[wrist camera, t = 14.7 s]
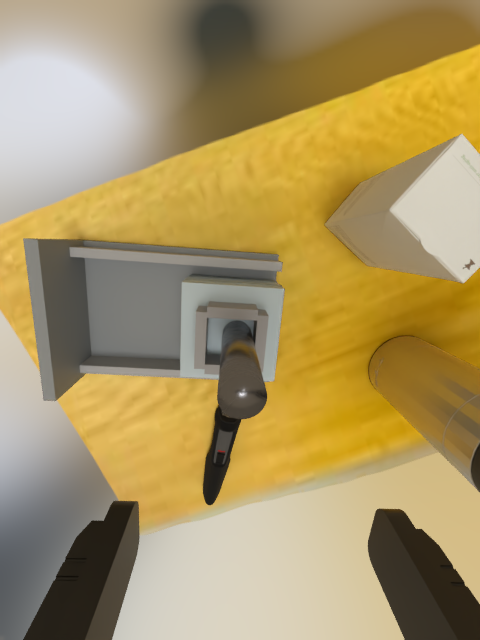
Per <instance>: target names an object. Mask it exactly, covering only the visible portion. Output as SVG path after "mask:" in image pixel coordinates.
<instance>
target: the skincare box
mask: <svg viewBox="0 0 480 640" xmlns="http://www.w3.org/2000/svg"><path fill="white" fill-rule="evenodd" d="M325 226H326V227H327V228H328V229H329V230H330V231H331V232H332V233H333V234H334V235H335V236H336V237H337V238H338V239H339V240H340V241H341V242H343V243H344V244H345V245H346V246H347V247H348V248H349V249H350V250H351V251H352V252H353V253H354V254H355V255H356V256H357V257H358V258H359V259H360V260H361V261H363V262H364V263H365V264H366V265H367V266H371V267H377V268H383V269H389V270H395V271H401V272H406V273H412V274H417V275H423V276H429V277H435V278H440V279H446V280H451V281H456V282H460V283H465V282H466V281H467V279H468V278H469V277H470V276H471V275H472V274H473V273H474V272H475V271H476V270H477V269H478V268H479V267H480V154H479V153H478V152H477V151H476V150H475V148H474V147H473V146H472V145H471V144H470V142H469V141H468V140H467V139H466V138H465V137H464V136H463V134H460V135H459V136H457V137H454V138H452V139H450V140H448V141H446V142H444V143H442V144H440V145H438V146H436V147H434V148H432V149H430V150H428V151H426V152H423V153H421V154H419V155H417V156H415V157H413V158H411V159H409V160H407V161H405V162H403V163H401V164H398V165H396V166H394V167H392V168H390V169H388V170H386V171H384V172H382V173H380V174H378V175H376V176H374V177H372V178H370V179H367V180H366V181H363V182H361V183H360V184H359V185H358V186H357V187H356V188H355V189H354V190H353V191H352V193H351V194H350V195H349V196H348V197H347V198H346V200H345V201H344V202H343V203H342V204H341V205H340V207H339V208H338V209H337V210H336V211H335V212H334V214H333V215H332V216H331V217H330V218H329V219H328V221H327V222H326V223H325Z"/></svg>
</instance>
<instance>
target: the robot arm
mask: <svg viewBox="0 0 480 640" xmlns="http://www.w3.org/2000/svg"><path fill="white" fill-rule="evenodd" d="M369 378H370V381H371V383H372V385H373V386H374V387H375V389H376V390H377V391H378V392H379V393H380V394H381V395H382V396H383V397H384V398H385V399H386V400H387V401H389V403H390V404H391V405H392V406H393V407H394V408H395V409H396V410H397V411H398V412H399V413H400V414H401V415H402V416H403V417H404V418H405V419H406V420H407V421H408V422H409V423H410V424H411V425H412V426H413V427H414V428H416V429H417V430H418V431H419V432H420V433H421V434H422V435H423V436H424V437H425V438H426V439H427V440H428V441H429V442H430V443H431V444H432V445H433V446H434V447H435V448H436V449H437V450H438V451H439V452H440V453H441V454H442V455H443V456H444V457H445V458H446V459H447V460H448V461H449V462H450V463H451V464H452V465H453V466H454V467H455V468H456V469H457V470H458V471H459V472H460V473H461V474H462V475H463V476H464V477H465V478H466V479H467V480H468V481H469V482H470V483H471V484H472V485H473V486H474V487H475V488H476V489H477V490H478V491H479V492H480V369H479V368H477V367H475V366H473V365H471V364H469V363H467V362H465V361H463V360H461V359H459V358H457V357H455V356H453V355H451V354H449V353H447V352H445V351H443V350H441V349H439V348H437V347H435V346H433V345H431V344H429V343H427V342H425V341H423V340H421V339H420V338H417V337H413V336H401V337H397V338H394V339H391V340H389V341H387V342H386V343H384V344H383V345H382V346H381V347H379V349H378V350H377V351H376V352H375V353H374V355H373V357H372V359H371V362H370V365H369ZM138 544H139V505H138V502H137V501H114V502H113V503H112V504H111V506H110V508H109V511H108V513H107V515H106V517H105V519H104V521H91V522H90V523H89V525H87V527H86V528H85V529H84V530H83V531H82V532H81V533H80V534H79V535H78V536H77V537H76V539H75V541H74V543H73V545H72V547H71V549H70V551H69V553H68V554H67V556H66V560H65V562H64V563H63V564H62V566H61V568H60V570H59V572H58V574H57V576H56V579H55V581H53V583H52V585H51V587H50V589H49V591H48V593H47V595H46V597H45V599H44V601H43V602H42V604H41V607H40V608H39V610H38V612H37V614H36V616H35V618H34V620H33V622H32V624H31V626H30V628H29V629H28V632H27V633H26V635H25V637H24V639H23V640H112V637H113V634H114V630H115V627H116V623H117V620H118V617H119V613H120V610H121V607H122V603H123V600H124V596H125V593H126V590H127V587H128V583H129V580H130V576H131V573H132V570H133V566H134V563H135V559H136V556H137V550H138ZM368 552H369V557H370V560H371V563H372V566H373V568H374V571H375V573H376V575H377V577H378V580H379V582H380V584H381V586H382V589H383V591H384V593H385V595H386V597H387V600H388V602H389V604H390V607H391V609H392V611H393V614H394V616H395V618H396V620H397V622H398V625H399V627H400V630H401V632H402V634H403V636H404V638H405V640H480V604H479V603H478V601H477V600H476V598H475V597H474V596H473V594H472V593H471V591H470V590H469V588H468V587H466V586H465V584H464V581H463V580H462V578H461V577H460V575H459V574H458V572H457V571H456V569H453V565H452V564H451V562H450V561H449V559H448V558H447V556H446V555H445V554H444V552H443V551H442V549H441V548H440V546H439V545H438V544H437V543H436V542H435V541H434V540H433V539H432V538H430V537H429V536H428V535H427V534H426V533H425V532H424V531H423V530H422V529H416V528H415V527H414V525H413V524H412V522H411V521H410V519H409V518H408V516H407V515H406V513H405V512H404V511H402V510H400V509H377V510H376V513H375V516H374V520H373V524H372V528H371V532H370V536H369V540H368Z"/></svg>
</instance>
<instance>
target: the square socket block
mask: <svg viewBox="0 0 480 640" xmlns="http://www.w3.org/2000/svg"><path fill="white" fill-rule="evenodd" d="M284 291H285V289H284V288H283V287H282V285H279V284H278V283H277V281H274V280H269V279H254V278H239V277H225V276H210V275H196V274H191V275H189V276H188V277H187V278H185V279H184V281H182V295H181V351H180V377H194V378H215V379H219V369H220V356H221V342H222V332H223V329H224V327H225V326H226V325H227V324H228V323H229V322H231V321H236V320H238V321H243V322H245V323H246V324H247V325H248V326H249V327H250V329H251V332H252V336H253V340H254V344H255V348H256V352H257V356H258V360H259V364H260V368H261V372H262V376H263V380H264V381H274V377H275V369H276V360H277V351H278V343H279V334H280V325H281V317H282V308H283V300H284Z"/></svg>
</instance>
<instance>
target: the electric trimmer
mask: <svg viewBox="0 0 480 640" xmlns="http://www.w3.org/2000/svg"><path fill="white" fill-rule="evenodd" d="M240 422H241V419H236V418H233V417H230V416H228V415H227V414H225V413H224V412H223V411H222V410H221V408H220V406H219V407H218V408H217V410H216V413H215V428H214V434H213V440H212V445H211V449H210V452H209V454H208V455H207V457H206V464H205V473H204V483H203V495H204V499H205V502H206V504H208V505H212V504H213V503H214V502H215V500H216V498H217V496H218V494H219V492H220V489H221V486H222V483H223V480H224V478H225V475H226V472H227V469H228V466H229V463H230V454H231V451H232V447H233V444H234V441H235V437H236V434H237V430H238V427H239V425H240Z"/></svg>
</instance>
